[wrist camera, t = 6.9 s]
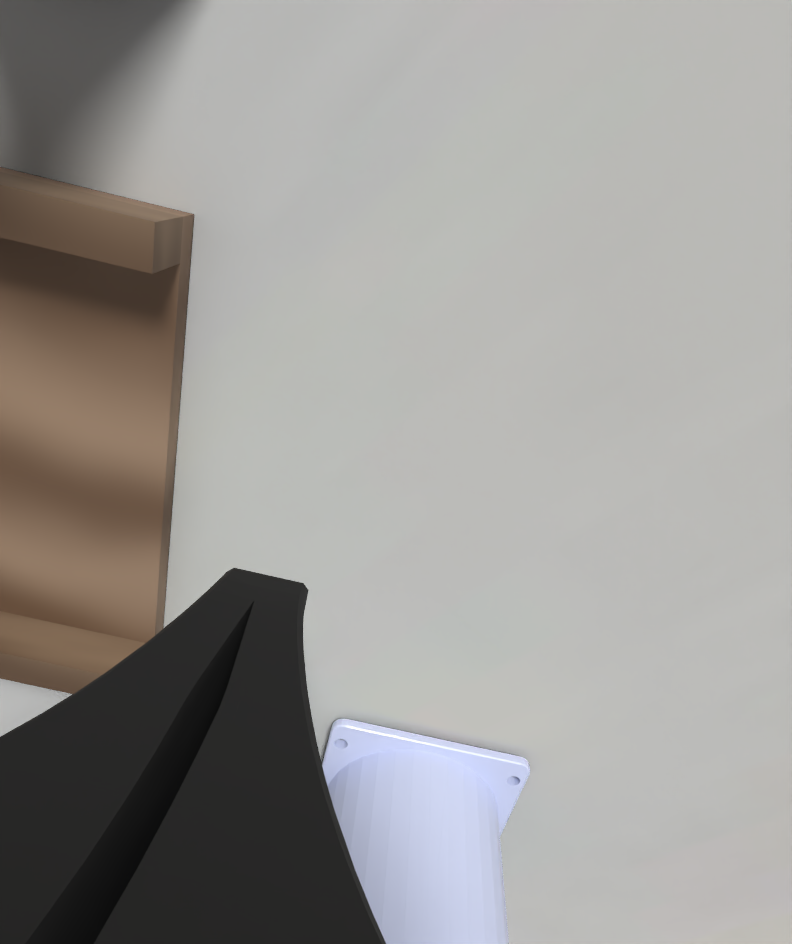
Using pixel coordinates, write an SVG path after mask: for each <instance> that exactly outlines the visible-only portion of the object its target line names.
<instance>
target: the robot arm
mask: <svg viewBox="0 0 792 944" xmlns="http://www.w3.org/2000/svg"><path fill="white" fill-rule="evenodd" d="M307 594H308V589H307V588H306V586H305V585H304V584H303V583H299V582H295V581H291V580H286V579H282V578H277V577H273V576H268V575H264V574H259V573H255V572H250V571H246V570H241V569H237V568H233V569H231V570H229V571H228V572H226V573H225V574H224V575H223V576H222V577H221V578H220V579H219V580H218V581H217V582H216V583H215V584H214V585H213V586H212V587H211V588H210V589H209V590H208V591H207V592H206V593H204V594H203V595H202V596H201V597H200V598H199V599H198V600H197V601H196V602H194V603H193V604H192V605H191V606H190V607H189V608H188V609H187V610H185V611H184V612H183V613H182V614H181V615H180V616H178V617H177V618H176V619H175V620H173V621H172V622H171V623H170V624H169V625H167V626H166V627H165V628H164V629H162V630H161V631H160V632H159V633H158V634H156V635H155V636H154V637H153V638H151V639H150V640H149V641H148V642H146V643H145V644H144V645H142V646H141V647H140V648H138V649H137V650H136V651H134V652H133V653H131V654H130V655H129V656H127V657H126V658H125V659H123V660H122V661H121V662H119V663H118V664H116V665H115V666H114V667H112V668H111V669H110V670H108V671H107V672H106V673H104V674H103V675H101V676H100V677H98V678H97V679H95V680H94V681H92V682H91V683H89V684H88V685H86V686H85V687H83V688H82V689H80V690H79V691H77V692H76V693H74V694H73V695H71V696H69V697H68V698H66V699H65V700H63V701H61V702H60V703H58V704H56V705H55V706H53V707H52V708H50V709H48V710H47V711H45V712H43V713H42V714H40V715H38V716H37V717H35V718H33V719H31V720H29V721H28V722H26V723H24V724H22V725H21V726H19V727H17V728H15V729H13V730H12V731H10V732H8V733H6V734H5V735H3V736H1V737H0V944H509V939H508V927H507V915H506V903H505V891H504V880H503V868H502V856H501V844H500V836H501V833H502V831H503V829H504V827H505V825H506V823H507V821H508V819H509V816H510V814H511V812H512V810H513V808H514V806H515V804H516V802H517V800H518V797H519V795H520V793H521V791H522V789H523V787H524V785H525V783H526V780H527V778H528V776H529V774H530V767H529V763H528V761H527V760H526V759H525V758H523V757H520V756H516V755H511V754H506V753H502V752H497V751H493V750H488V749H483V748H479V747H474V746H469V745H465V744H460V743H456V742H451V741H446V740H442V739H437V738H433V737H428V736H423V735H419V734H414V733H410V732H405V731H400V730H396V729H391V728H386V727H382V726H377V725H373V724H368V723H363V722H359V721H354V720H350V719H338V720H336V721H335V722H334V723H333V725H332V728H331V732H330V736H329V740H328V744H327V748H326V752H325V756H324V759H323V763H321V759H320V755H319V751H318V747H317V742H316V737H315V732H314V727H313V722H312V716H311V710H310V704H309V698H308V691H307V684H306V674H305V663H304V651H303V616H304V610H305V605H306V600H307ZM339 739H343V740H339ZM512 776H515V777H512Z"/></svg>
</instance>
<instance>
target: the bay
mask: <svg viewBox="0 0 792 944" xmlns="http://www.w3.org/2000/svg"><path fill="white" fill-rule="evenodd" d="M193 222H194V214H190V213H186V212H182V211H178V210H174V209H170V208H166V207H162V206H158V205H154V204H149V203H145V202H141V201H137V200H133V199H129V198H125V197H121V196H117V195H113V194H109V193H105V192H100V191H96V190H92V189H88V188H84V187H80V186H76V185H72V184H68V183H64V182H60V181H56V180H51V179H47V178H43V177H39V176H35V175H31V174H27V173H23V172H19V171H15V170H11V169H7V168H2V167H0V678H1V679H6V680H10V681H15V682H20V683H24V684H29V685H34V686H38V687H43V688H48V689H52V690H57V691H62V692H66V693H71V694H74V693H76V692H77V691H79V690H80V689H82V688H83V687H85V686H86V685H88V684H89V683H91V682H92V681H94V680H95V679H97V678H98V677H100V676H101V675H103V674H104V673H106V672H107V671H108V670H110V669H111V668H112V667H114V666H115V665H116V664H118V663H119V662H121V661H122V660H123V659H125V658H126V657H127V656H129V655H130V654H131V653H133V652H134V651H136V650H137V649H138V648H140V647H141V646H142V645H144V644H145V643H146V642H148V641H149V640H150V639H151V638H153V637H154V636H155V635H156V634H158V633H159V632H160V631H161V630H162V629H163V622H164V608H165V595H166V582H167V568H168V555H169V542H170V528H171V515H172V502H173V489H174V475H175V462H176V449H177V435H178V422H179V409H180V395H181V382H182V369H183V355H184V342H185V329H186V315H187V302H188V289H189V276H190V262H191V249H192V236H193Z"/></svg>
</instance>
